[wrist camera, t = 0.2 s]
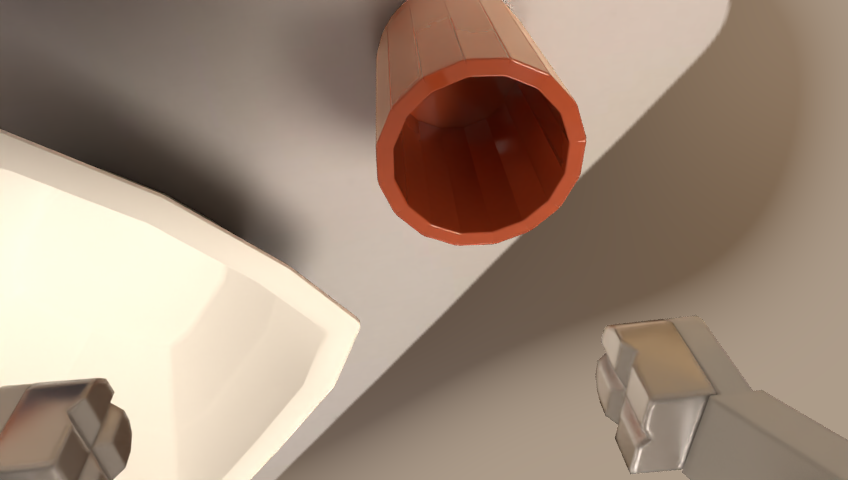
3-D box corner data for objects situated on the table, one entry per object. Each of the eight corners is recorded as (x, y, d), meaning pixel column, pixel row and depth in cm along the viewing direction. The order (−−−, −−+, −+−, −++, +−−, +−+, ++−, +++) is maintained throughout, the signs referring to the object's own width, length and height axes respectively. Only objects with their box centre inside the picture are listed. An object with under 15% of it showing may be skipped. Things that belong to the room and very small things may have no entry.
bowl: (397, 211, 33) (403, 315, 26) (223, 428, 43) (194, 543, 37) (-37, -31, 25) (-196, 29, 18) (-127, 310, 35) (-249, 431, 28)
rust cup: (372, -16, 26) (370, 61, 18) (533, -19, 26) (602, 56, 18) (380, 133, 30) (381, 249, 22) (518, 129, 31) (569, 241, 23)
